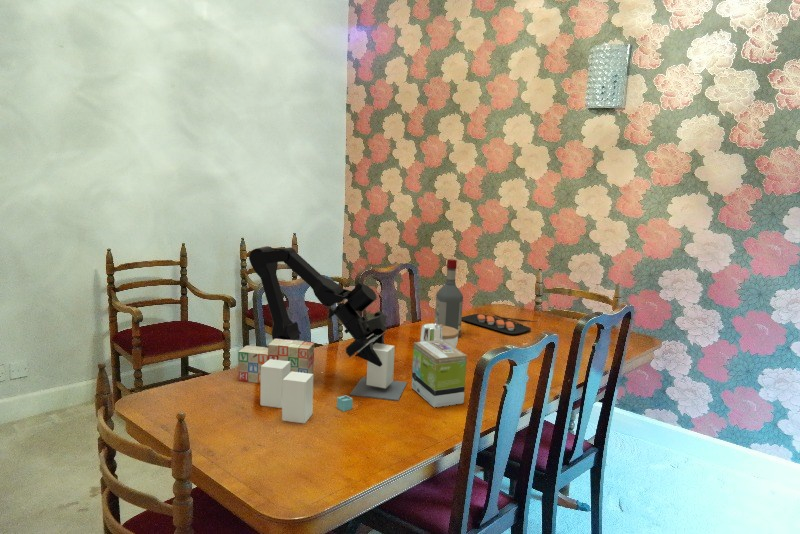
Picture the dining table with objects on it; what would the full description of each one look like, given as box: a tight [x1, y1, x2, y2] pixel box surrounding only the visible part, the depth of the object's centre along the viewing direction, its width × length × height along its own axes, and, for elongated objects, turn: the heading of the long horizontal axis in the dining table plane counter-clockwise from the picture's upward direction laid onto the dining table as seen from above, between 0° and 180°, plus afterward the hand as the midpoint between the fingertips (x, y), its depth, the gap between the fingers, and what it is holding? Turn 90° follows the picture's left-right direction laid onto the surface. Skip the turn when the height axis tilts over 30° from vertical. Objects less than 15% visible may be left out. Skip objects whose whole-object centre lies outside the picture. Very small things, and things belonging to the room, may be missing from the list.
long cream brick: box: [259, 359, 291, 409], centre depth 159 cm, size 6×6×11 cm
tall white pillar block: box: [281, 371, 314, 424], centre depth 151 cm, size 6×6×11 cm
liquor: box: [434, 258, 464, 338], centre depth 228 cm, size 9×9×30 cm
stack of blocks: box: [237, 339, 315, 384], centre depth 175 cm, size 21×6×12 cm, turn 82°
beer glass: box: [419, 323, 442, 342], centre depth 189 cm, size 7×7×15 cm
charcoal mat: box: [349, 376, 408, 402], centre depth 173 cm, size 14×14×1 cm
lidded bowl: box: [440, 324, 459, 349], centre depth 206 cm, size 13×13×11 cm
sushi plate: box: [461, 313, 539, 335], centre depth 253 cm, size 29×30×4 cm
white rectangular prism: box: [366, 343, 396, 388], centre depth 172 cm, size 6×6×11 cm
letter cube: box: [336, 394, 354, 412], centre depth 159 cm, size 3×3×3 cm
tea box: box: [411, 339, 468, 409], centre depth 169 cm, size 15×10×15 cm, turn 24°
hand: (385, 362), depth 171 cm, fingers closed on white rectangular prism, 6 cm apart
